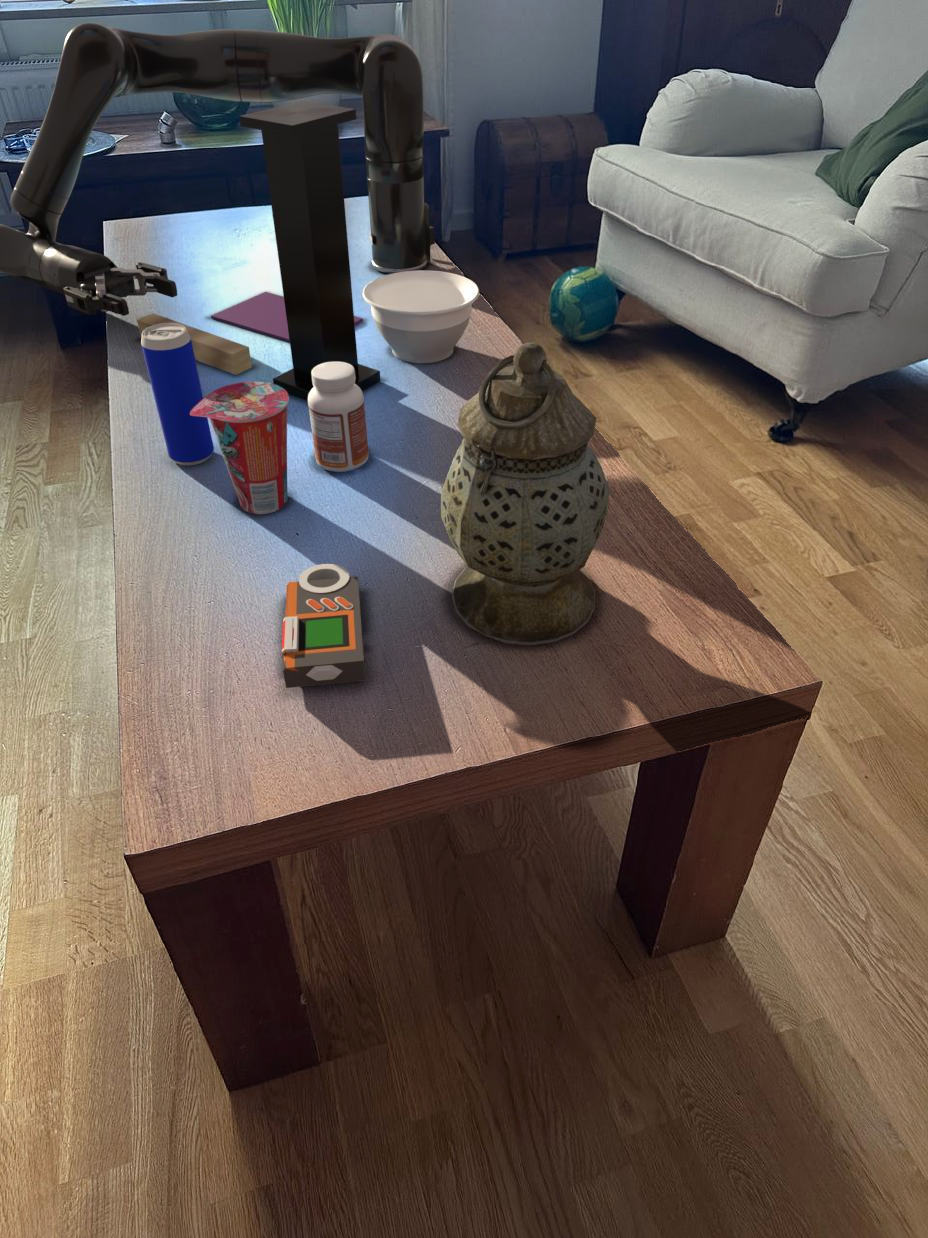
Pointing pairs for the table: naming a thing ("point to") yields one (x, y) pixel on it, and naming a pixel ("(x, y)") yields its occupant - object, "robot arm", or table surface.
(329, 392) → the pill bottle
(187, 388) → the beverage can
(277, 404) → the cup
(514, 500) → the lantern
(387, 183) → the robot arm
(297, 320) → the stand
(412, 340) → the bowl
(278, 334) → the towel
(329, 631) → the electronic device
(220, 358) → the birch stick
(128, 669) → the table surface
